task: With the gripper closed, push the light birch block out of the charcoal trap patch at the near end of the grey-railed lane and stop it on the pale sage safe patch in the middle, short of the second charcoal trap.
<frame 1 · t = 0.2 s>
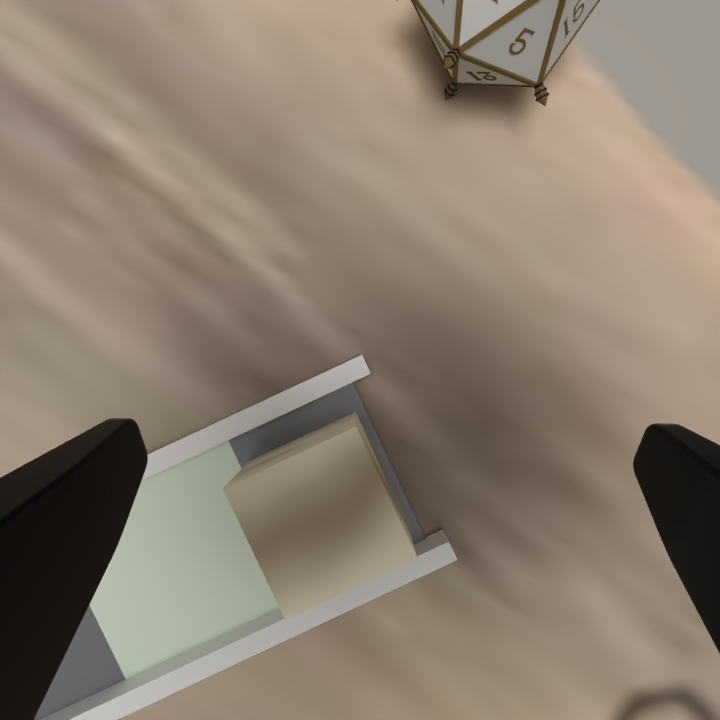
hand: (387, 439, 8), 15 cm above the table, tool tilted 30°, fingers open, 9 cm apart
birch block: (327, 489, 22), resting on trap lane
trap lane: (178, 557, 23), on the table
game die: (478, 53, 23), on the table
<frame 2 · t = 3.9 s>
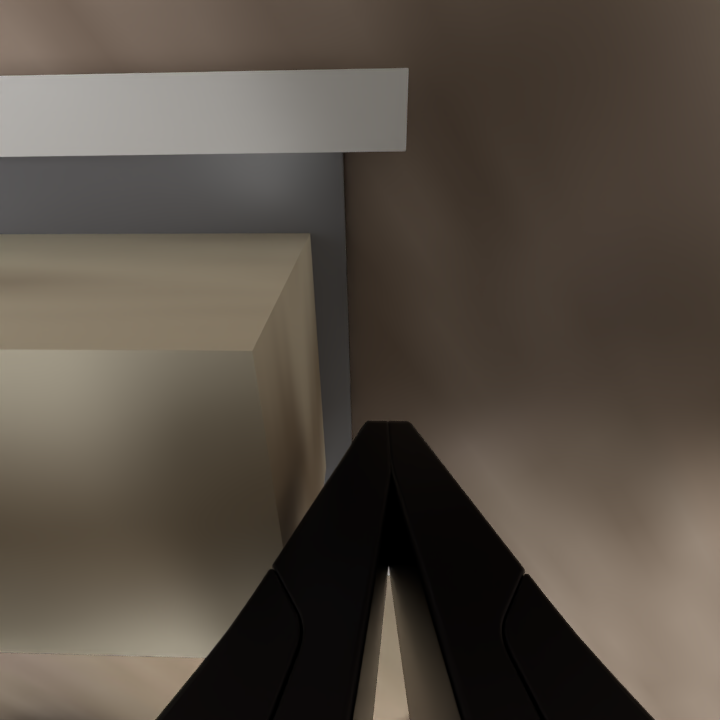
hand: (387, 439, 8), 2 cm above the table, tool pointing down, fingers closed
birch block: (186, 368, 10), resting on trap lane, touching gripper
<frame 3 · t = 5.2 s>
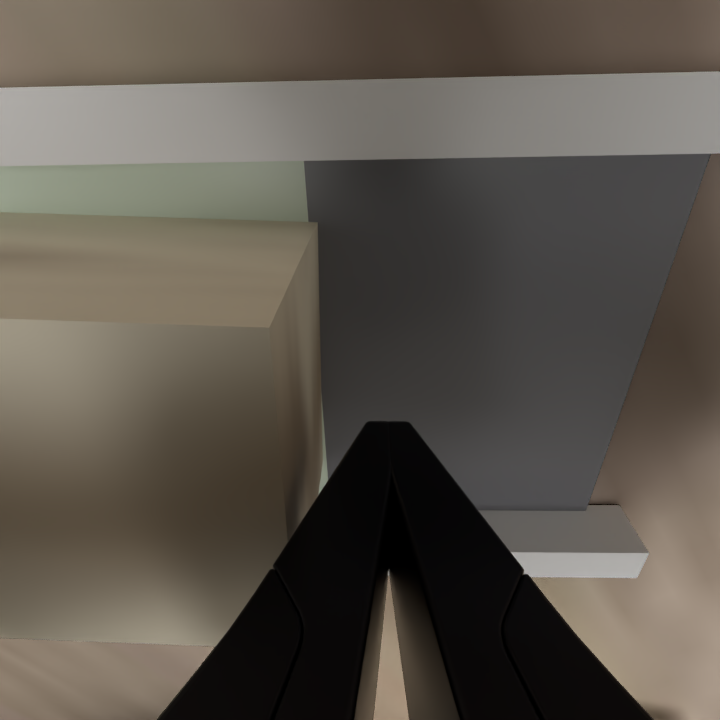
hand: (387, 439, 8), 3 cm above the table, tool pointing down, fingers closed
birch block: (186, 355, 10), resting on trap lane, touching gripper
trap lane: (106, 368, 10), on the table
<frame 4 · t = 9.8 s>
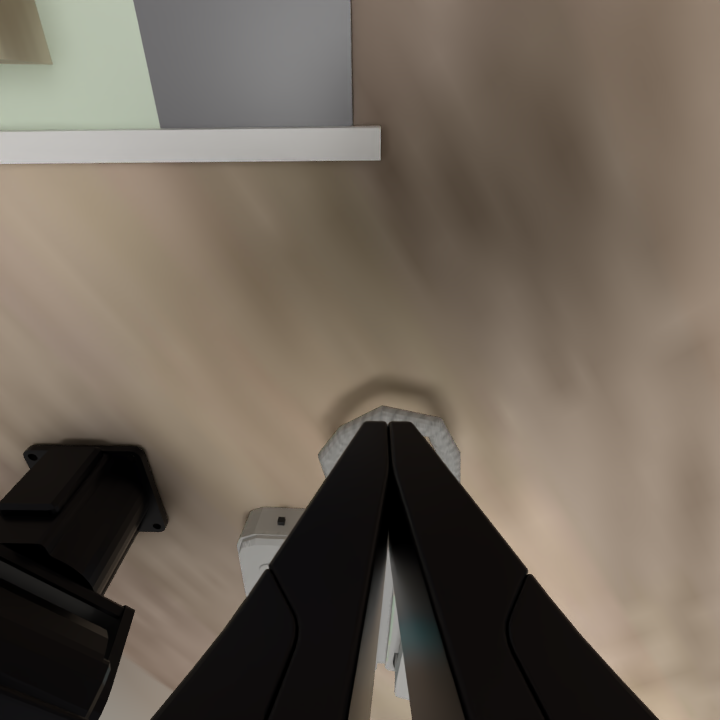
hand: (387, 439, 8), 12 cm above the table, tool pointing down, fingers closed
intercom: (352, 535, 28), on the table
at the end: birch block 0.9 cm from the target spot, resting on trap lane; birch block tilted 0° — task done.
